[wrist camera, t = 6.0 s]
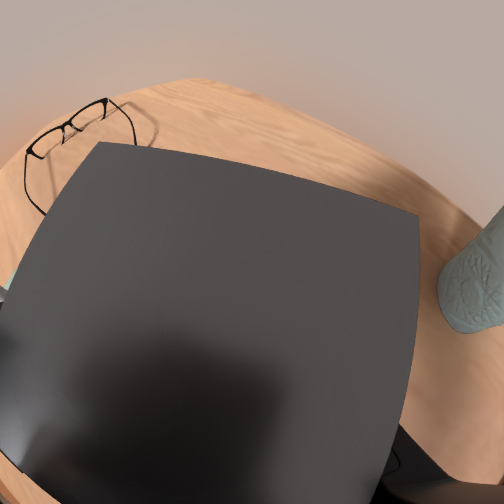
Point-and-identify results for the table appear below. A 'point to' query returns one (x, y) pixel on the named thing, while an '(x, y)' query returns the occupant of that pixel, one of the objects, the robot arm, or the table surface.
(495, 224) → the embossed blue-grey cup
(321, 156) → the table surface
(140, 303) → the block
